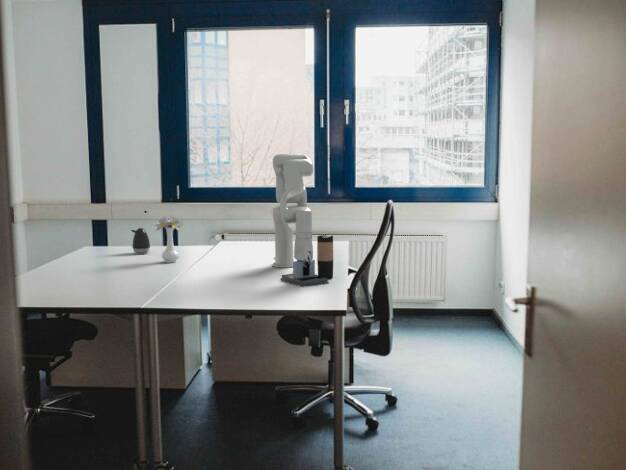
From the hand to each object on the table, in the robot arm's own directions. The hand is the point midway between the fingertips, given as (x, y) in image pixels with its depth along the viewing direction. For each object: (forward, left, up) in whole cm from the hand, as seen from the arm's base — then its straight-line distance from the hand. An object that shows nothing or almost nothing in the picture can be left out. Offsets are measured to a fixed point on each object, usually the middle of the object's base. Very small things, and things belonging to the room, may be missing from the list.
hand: (304, 274), depth 318 cm
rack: (0, 0, -3) cm, 3 cm away
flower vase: (-88, -32, -4) cm, 94 cm away
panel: (0, 0, -2) cm, 2 cm away
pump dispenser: (-125, -36, -4) cm, 130 cm away
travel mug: (-2, +13, -4) cm, 14 cm away
